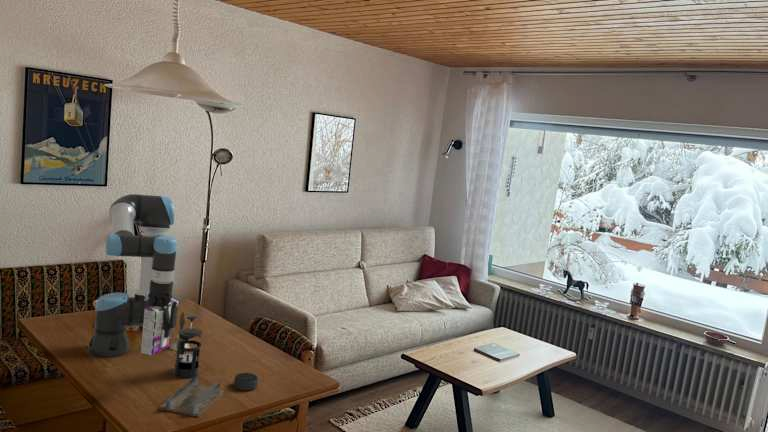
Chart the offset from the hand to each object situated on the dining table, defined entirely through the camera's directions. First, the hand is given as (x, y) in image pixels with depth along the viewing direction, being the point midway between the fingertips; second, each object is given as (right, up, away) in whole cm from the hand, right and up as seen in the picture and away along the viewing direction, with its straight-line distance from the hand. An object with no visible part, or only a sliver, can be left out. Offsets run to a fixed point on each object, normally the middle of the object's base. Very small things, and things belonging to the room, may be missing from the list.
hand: (155, 344), depth 206 cm
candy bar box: (0, -2, 0) cm, 2 cm away
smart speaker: (+28, -20, +17) cm, 38 cm away
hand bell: (-7, -12, +46) cm, 48 cm away
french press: (+3, -16, +21) cm, 27 cm away
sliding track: (+13, -20, 0) cm, 24 cm away
